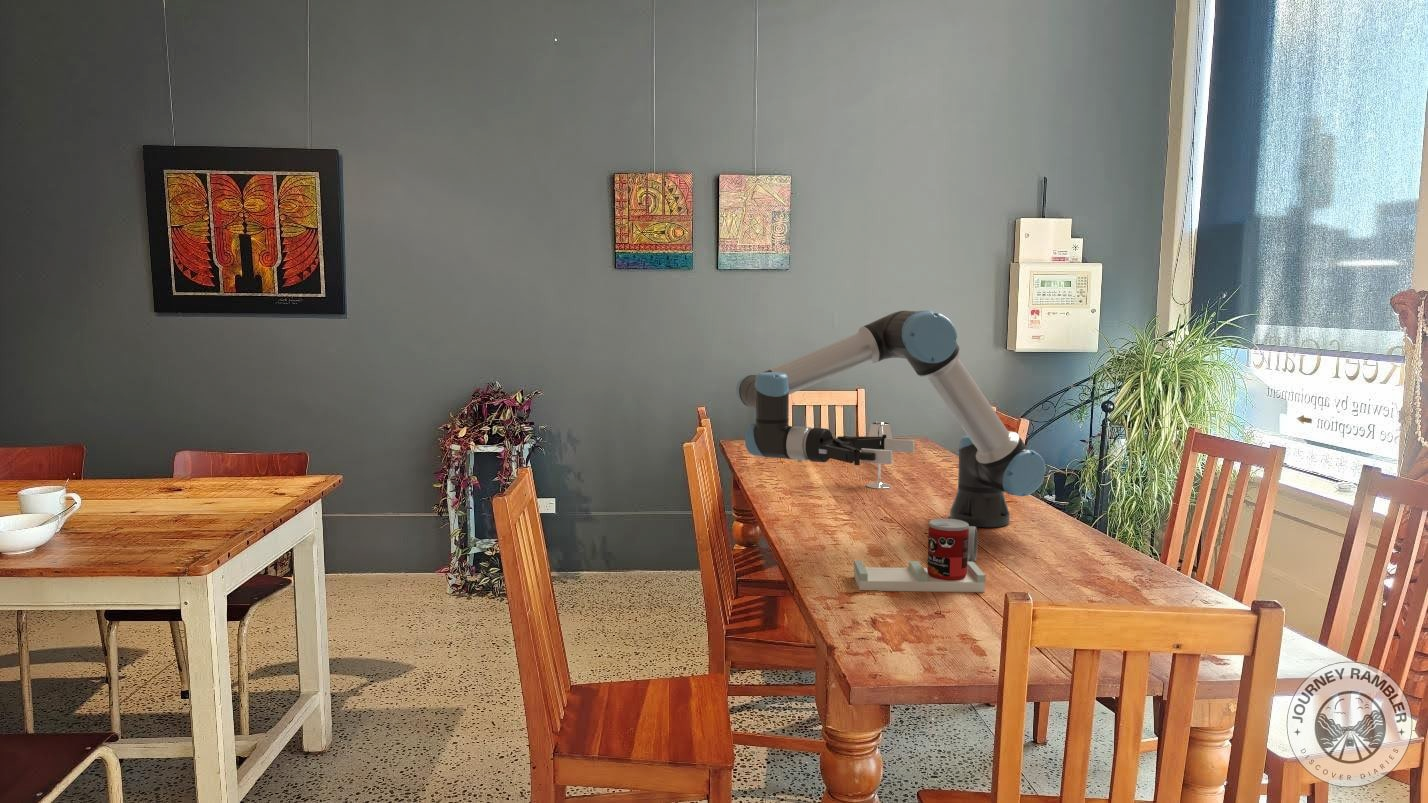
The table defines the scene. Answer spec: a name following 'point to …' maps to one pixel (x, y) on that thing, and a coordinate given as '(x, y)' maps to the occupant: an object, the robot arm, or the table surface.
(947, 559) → the canned food
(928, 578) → the rail
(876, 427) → the wineglass
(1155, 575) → the table surface
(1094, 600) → the table surface
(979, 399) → the robot arm
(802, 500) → the table surface
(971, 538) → the ceramic mug
